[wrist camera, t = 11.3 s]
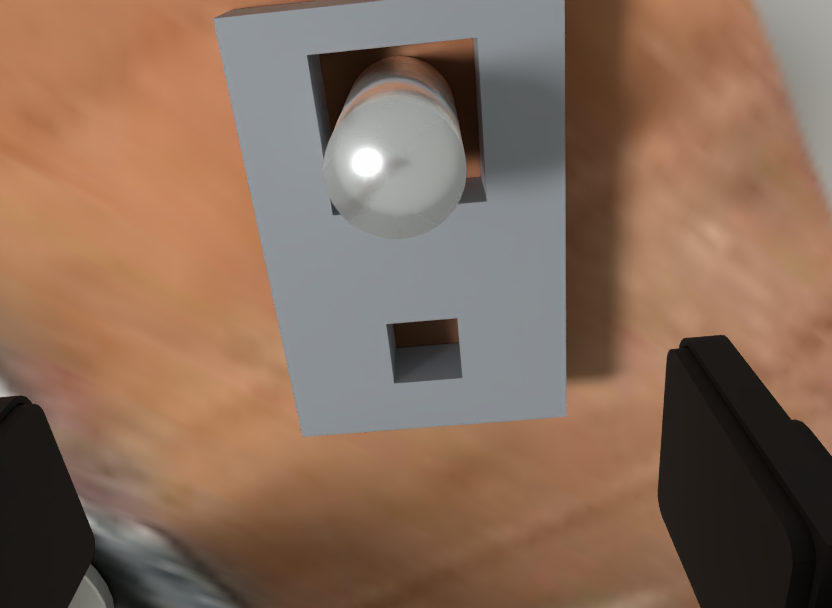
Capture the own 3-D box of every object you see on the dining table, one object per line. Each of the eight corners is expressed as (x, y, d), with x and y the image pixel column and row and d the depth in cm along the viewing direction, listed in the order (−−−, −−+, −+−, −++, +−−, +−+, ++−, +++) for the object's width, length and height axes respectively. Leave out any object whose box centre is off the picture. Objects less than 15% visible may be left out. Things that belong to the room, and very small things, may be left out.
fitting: (459, 160, 30) (471, 232, 23) (354, 170, 31) (334, 244, 23) (451, 50, 28) (461, 92, 21) (339, 62, 28) (312, 107, 21)
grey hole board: (555, 379, 35) (566, 416, 33) (311, 398, 36) (302, 436, 33) (550, -25, 27) (564, -20, 24) (233, 9, 28) (213, 18, 25)
